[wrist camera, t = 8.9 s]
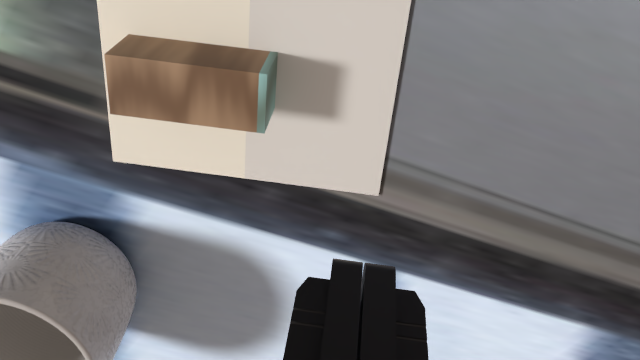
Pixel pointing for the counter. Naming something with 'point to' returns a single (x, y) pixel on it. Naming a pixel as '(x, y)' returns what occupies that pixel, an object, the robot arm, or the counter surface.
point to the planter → (63, 294)
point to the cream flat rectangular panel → (277, 88)
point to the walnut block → (192, 83)
